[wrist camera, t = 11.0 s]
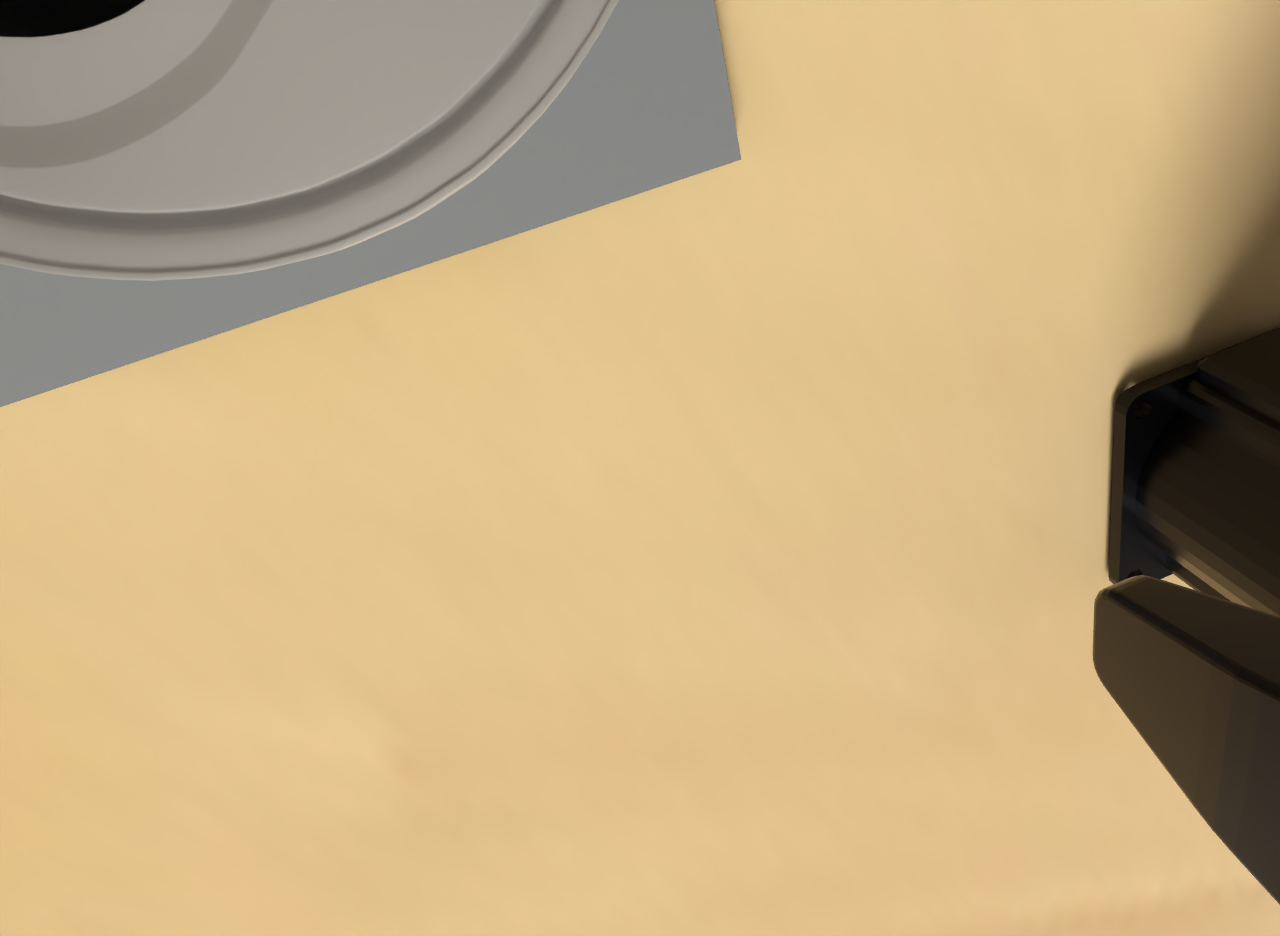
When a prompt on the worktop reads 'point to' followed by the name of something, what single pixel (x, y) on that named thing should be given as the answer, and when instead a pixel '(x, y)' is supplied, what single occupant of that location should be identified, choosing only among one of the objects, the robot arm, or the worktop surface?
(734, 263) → the worktop surface
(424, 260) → the slate mat
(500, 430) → the worktop surface
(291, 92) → the beverage can
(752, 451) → the worktop surface
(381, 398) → the worktop surface
